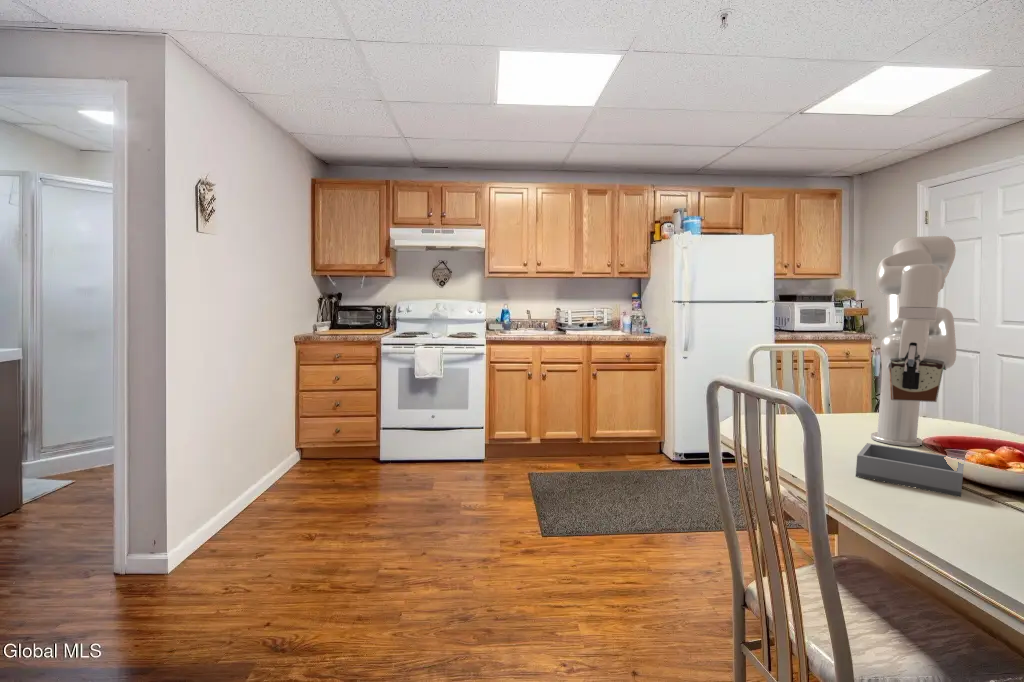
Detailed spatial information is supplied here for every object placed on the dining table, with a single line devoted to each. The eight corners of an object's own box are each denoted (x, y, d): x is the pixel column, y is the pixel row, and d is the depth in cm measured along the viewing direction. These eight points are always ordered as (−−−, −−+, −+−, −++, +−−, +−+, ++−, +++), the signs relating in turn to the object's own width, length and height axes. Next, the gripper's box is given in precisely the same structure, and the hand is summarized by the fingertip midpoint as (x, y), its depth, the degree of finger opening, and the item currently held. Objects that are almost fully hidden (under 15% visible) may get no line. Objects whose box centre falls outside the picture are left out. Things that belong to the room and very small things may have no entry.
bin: (865, 462, 139) (867, 443, 138) (962, 479, 127) (964, 458, 126) (855, 476, 127) (857, 455, 127) (960, 496, 115) (963, 473, 115)
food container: (931, 396, 139) (935, 357, 137) (943, 402, 133) (947, 361, 132) (876, 394, 142) (878, 356, 141) (885, 400, 136) (888, 360, 135)
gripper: (902, 314, 144) (896, 382, 145) (894, 314, 131) (889, 388, 132) (938, 315, 139) (932, 385, 140) (934, 315, 126) (928, 392, 127)
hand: (911, 386), depth 136 cm, fingers closed on food container, 6 cm apart
